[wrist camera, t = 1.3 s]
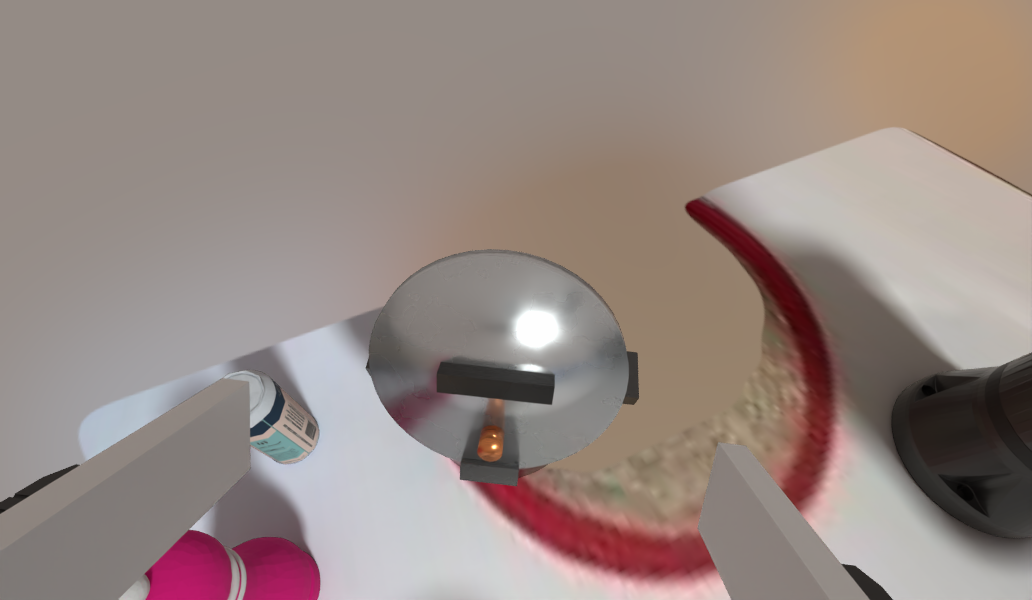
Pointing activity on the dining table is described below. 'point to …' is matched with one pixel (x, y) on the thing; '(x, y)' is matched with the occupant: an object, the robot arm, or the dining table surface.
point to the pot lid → (499, 362)
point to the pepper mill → (229, 571)
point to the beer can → (277, 420)
